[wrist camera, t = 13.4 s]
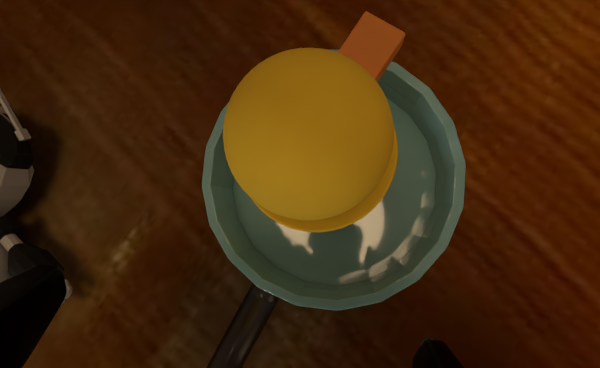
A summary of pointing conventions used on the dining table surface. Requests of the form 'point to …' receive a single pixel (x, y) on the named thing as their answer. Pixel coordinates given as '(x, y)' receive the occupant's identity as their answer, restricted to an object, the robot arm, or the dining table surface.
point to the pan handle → (244, 329)
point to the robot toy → (16, 197)
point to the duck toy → (316, 131)
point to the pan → (362, 234)
